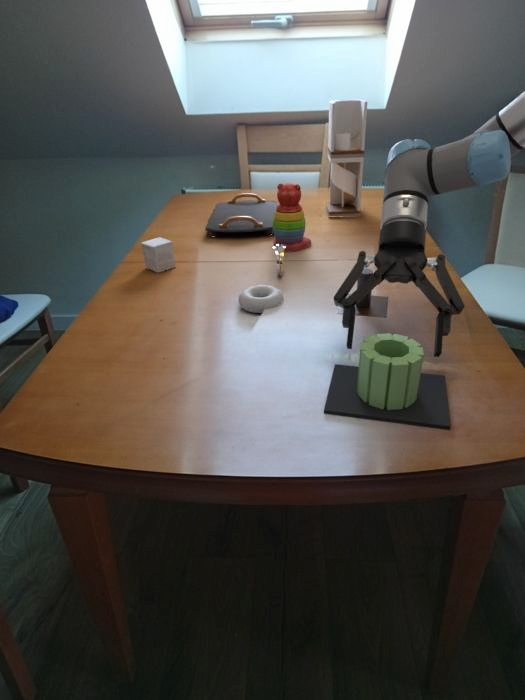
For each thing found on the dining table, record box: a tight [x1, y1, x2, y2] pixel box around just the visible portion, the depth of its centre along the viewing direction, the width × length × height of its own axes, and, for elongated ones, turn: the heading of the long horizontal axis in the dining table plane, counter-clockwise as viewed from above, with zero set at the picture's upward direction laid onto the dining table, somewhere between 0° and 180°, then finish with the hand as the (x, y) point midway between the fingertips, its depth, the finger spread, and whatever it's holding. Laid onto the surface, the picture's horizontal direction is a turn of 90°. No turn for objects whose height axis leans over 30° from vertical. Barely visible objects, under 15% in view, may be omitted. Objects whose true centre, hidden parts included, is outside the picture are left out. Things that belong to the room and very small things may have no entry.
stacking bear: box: [272, 183, 312, 253], centre depth 132 cm, size 11×10×18 cm
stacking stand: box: [336, 268, 389, 319], centre depth 96 cm, size 10×10×9 cm
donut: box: [238, 284, 284, 314], centre depth 102 cm, size 10×4×10 cm
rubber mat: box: [323, 363, 452, 430], centre depth 73 cm, size 18×13×1 cm
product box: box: [140, 236, 177, 274], centre depth 124 cm, size 6×6×7 cm
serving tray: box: [205, 192, 279, 237], centre depth 159 cm, size 39×23×6 cm, turn 178°
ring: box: [272, 243, 285, 276], centre depth 116 cm, size 7×3×8 cm, turn 175°
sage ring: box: [357, 332, 424, 410], centre depth 71 cm, size 9×9×8 cm
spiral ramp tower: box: [325, 99, 368, 217], centre depth 156 cm, size 11×11×35 cm
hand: (392, 351), depth 74 cm, fingers open, 13 cm apart
